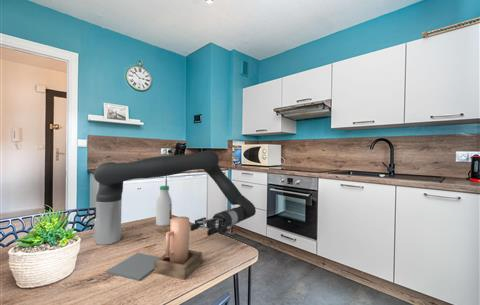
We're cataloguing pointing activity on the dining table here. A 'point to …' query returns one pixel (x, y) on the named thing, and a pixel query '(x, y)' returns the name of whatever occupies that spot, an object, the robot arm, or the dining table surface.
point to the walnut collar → (178, 266)
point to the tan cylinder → (178, 240)
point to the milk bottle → (164, 207)
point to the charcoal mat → (134, 267)
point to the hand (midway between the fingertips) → (199, 230)
